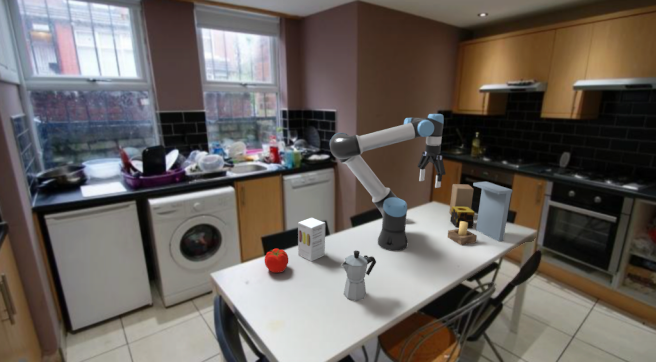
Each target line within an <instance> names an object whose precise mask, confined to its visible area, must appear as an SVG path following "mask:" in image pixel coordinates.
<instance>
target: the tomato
mask: <svg viewBox="0 0 656 362" xmlns="http://www.w3.org/2000/svg"><path fill="white" fill-rule="evenodd" d="M264 264H265V267H266V268H267V270H268V271H270V272H271V273H275V274H277V273H283V272H284V271H285V270H286V268H287V267H288V264H289V255H288V254H287V252H286V251H285V250H284V249H279V248H274V249H270V251H267V252H266V255H265V256H264Z"/></svg>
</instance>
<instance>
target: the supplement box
mask: <svg viewBox="0 0 656 362" xmlns="http://www.w3.org/2000/svg"><path fill="white" fill-rule="evenodd" d="M297 226H298V227H297V228H298V229H297V234H298V235H297V237H298V238H297V244H298V245H297V252H298V256H299V257H300V256H301V257H302V258H303V259H305V260H307V261H309V262H314V261H316V260H318V259H319V258H321V257H323V256H325V255H326V250H325V249H326V222H325V221H321V220H319V219H316V218H314V217H309V218H307V219H304V220H301V221H298V225H297Z"/></svg>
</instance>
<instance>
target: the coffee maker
mask: <svg viewBox="0 0 656 362" xmlns="http://www.w3.org/2000/svg"><path fill="white" fill-rule="evenodd" d="M376 263H377V260H376V258H375V257H374V256H373V255H372V256H368V255H363V256H362V255H360V251H359V250H353V254H350V255H348V256H346V257H344V261H343V263H341V265H340V266H341V267H342V268H343V269H344V271H345V273H346V281H345V287H344V291H343V295H344V297H345V298H346V299H347V300H350V301H353V302H358V301H361V300H364V299H365V298H366V296H367V289H366V281H365V277H366V275H367V276H370V274H371V273H372V271H373V269H374V267H375V265H376ZM369 264H370V265H369ZM368 265H369V266H368Z"/></svg>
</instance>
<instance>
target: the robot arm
mask: <svg viewBox="0 0 656 362" xmlns="http://www.w3.org/2000/svg"><path fill="white" fill-rule="evenodd" d="M444 122H445V121H444V115H443V114H441V113H429V114H428V115H427V117H406V118H405V119H404V120H403V124H401V125H398V126H397V125H396V126H393V127H390V128H385V129H382V130H377V131H374V132H371V133H367V134H362V135H358V134H354V135H349V134H347V133H345V132H337V133H335V134H334V135H333V136H332V137H331V139H330V140H329V148H330V149H329V150H330V152H331V154H332V156H333V157H334V158H336V159H337V160H339V161H340V162H339V163H341V164H345V165H346V166H347V168H348V169H349V170H350V171H351V172H352V174H353V175H354V176H355V177H356V178H357V180H358V181H359V182H360V184H362V186H363V187H364V189H366V191H367V192H368V193H369V194H370V196H371V198H372V200H371V201H372V203H373V204H374V205H375V207H376V208H377V209H378V211H379V212H380V213H381V215H382V224H381V231H380V233H379V236H378V237H377V245H378V246H379V247H380V248H382V249H384V250H388V251H395V252H398V251H399V252H400V251H403V250H406V249H407V248H408V244H409V241H408V236H407V233H406V227H407V225H406V224H407V214H408V204H407V201H405V200H404V199H401V198H399V197H397V194H395V193H394V192H393V191H392V190H391V188H390V187H385V185H384V184H383V183H382V182H381V180H380V179H379V178H378V176H377V175H376V174H375V172H374V171H373V170H372V169H371V167H370V166H369V165H368V163H367V162H366V161H365V160H364V158H363V157H362V156H361V155H362V154H363V152H367V151H370V150H375V149H378V148H379V149H380V148H381V147H386V146H390V145H393V144H397V143H402V142H405V141H409V140H413V139H418V138H420V137H422V138H425V148H424V151H422V154H421V157H420V160H419V162H418V163H417V168H419V180H418V181H419V182H423V181H425V175H426V167H427V166H428V165H429V163H432V165H433V166H434V169H435V172H436V175H435V184H434V188H435V189H436V188H437V189H438V188H441V187H442V186H441V185H442V181H443V180H442V179H443V176H445V175H446V168H445V164H444V156H443V155H439V153H441V147H442V146H441V144H442V139H443V138H442V137H443V131H444V130H443V129H444Z"/></svg>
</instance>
